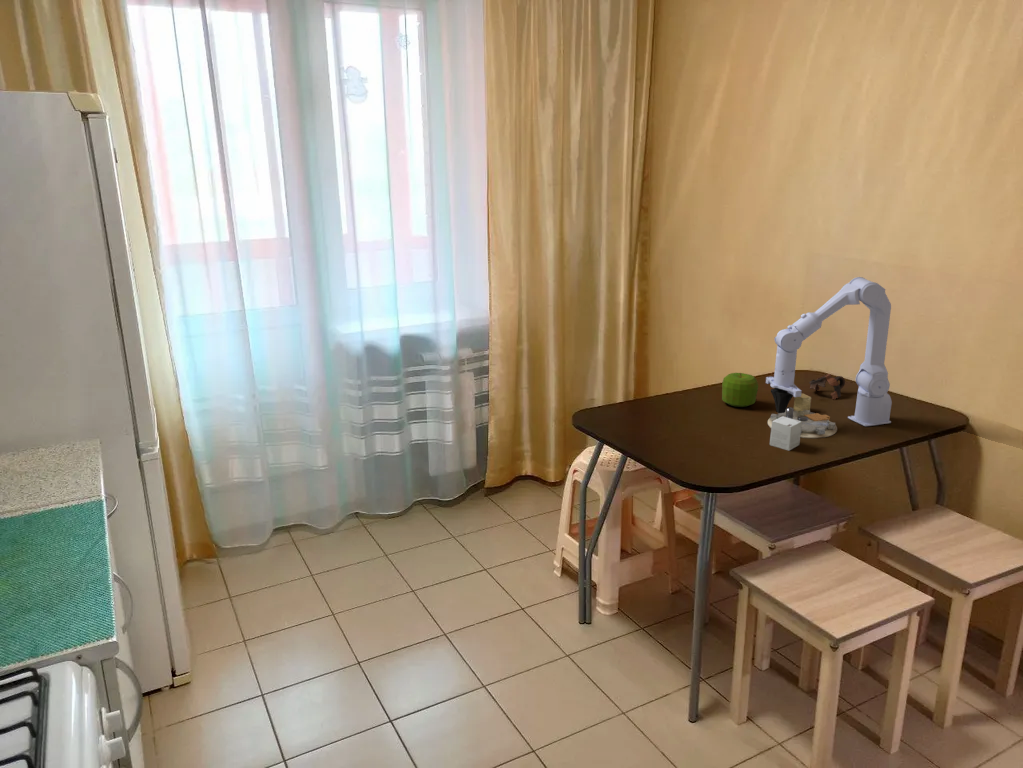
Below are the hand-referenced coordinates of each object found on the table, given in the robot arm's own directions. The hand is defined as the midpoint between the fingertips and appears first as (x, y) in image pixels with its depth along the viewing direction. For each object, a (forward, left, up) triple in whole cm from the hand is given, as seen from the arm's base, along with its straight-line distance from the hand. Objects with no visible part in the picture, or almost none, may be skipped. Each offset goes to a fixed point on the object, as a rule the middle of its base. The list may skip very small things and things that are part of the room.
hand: (780, 412), depth 227 cm
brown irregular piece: (-31, -17, -3) cm, 35 cm away
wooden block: (-13, -7, -3) cm, 15 cm away
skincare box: (+10, +16, -3) cm, 19 cm away
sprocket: (-4, +5, -3) cm, 7 cm away
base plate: (-4, +5, -3) cm, 7 cm away
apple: (+3, -18, -3) cm, 19 cm away
